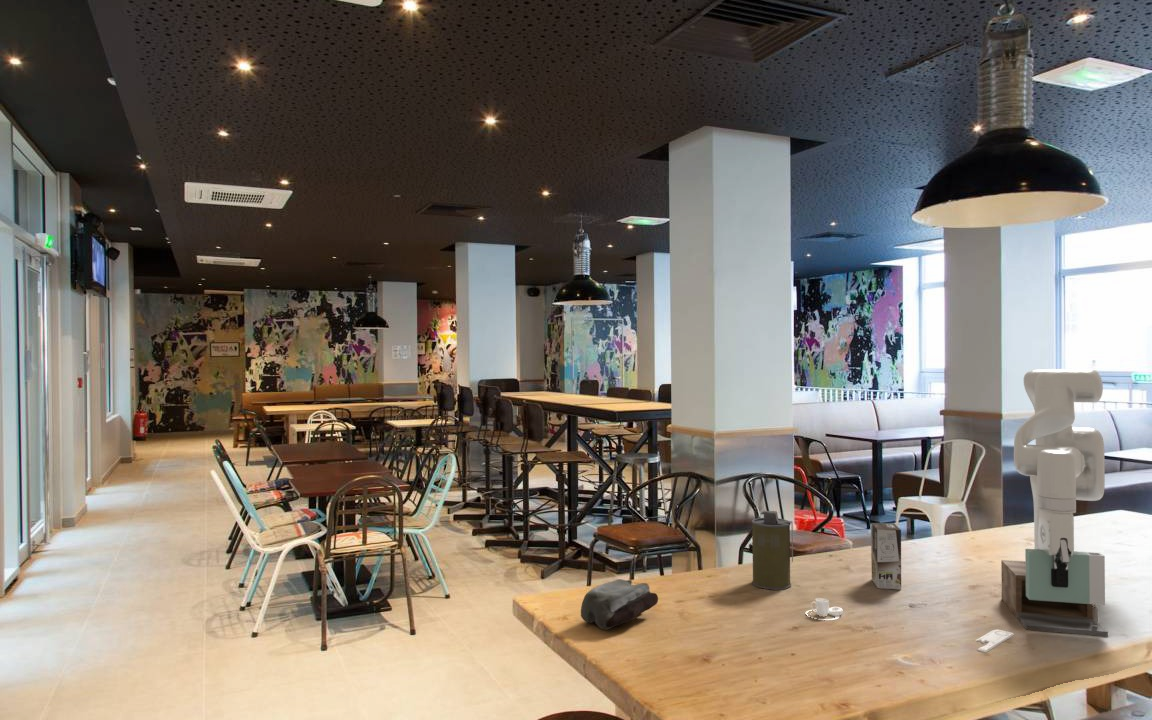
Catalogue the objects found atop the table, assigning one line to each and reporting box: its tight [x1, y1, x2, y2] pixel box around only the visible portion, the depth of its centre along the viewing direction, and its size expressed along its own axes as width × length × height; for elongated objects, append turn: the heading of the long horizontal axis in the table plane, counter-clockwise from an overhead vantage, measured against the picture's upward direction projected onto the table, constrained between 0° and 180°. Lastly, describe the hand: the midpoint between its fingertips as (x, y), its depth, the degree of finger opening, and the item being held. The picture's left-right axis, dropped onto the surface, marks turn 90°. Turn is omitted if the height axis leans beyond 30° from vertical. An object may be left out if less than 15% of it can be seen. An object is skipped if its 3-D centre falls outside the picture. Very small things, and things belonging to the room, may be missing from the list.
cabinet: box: [1000, 559, 1109, 637], centre depth 183 cm, size 23×16×10 cm
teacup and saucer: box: [804, 597, 844, 622], centre depth 185 cm, size 9×8×4 cm
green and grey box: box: [1024, 548, 1106, 606], centre depth 175 cm, size 3×15×11 cm, turn 73°
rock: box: [580, 578, 659, 631], centre depth 182 cm, size 20×12×8 cm, turn 142°
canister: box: [751, 510, 794, 591], centre depth 210 cm, size 11×10×20 cm
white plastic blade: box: [974, 629, 1014, 654], centre depth 168 cm, size 5×15×1 cm, turn 130°
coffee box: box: [870, 522, 902, 590], centre depth 210 cm, size 9×6×16 cm
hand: (1057, 583), depth 175 cm, fingers closed on green and grey box, 3 cm apart
